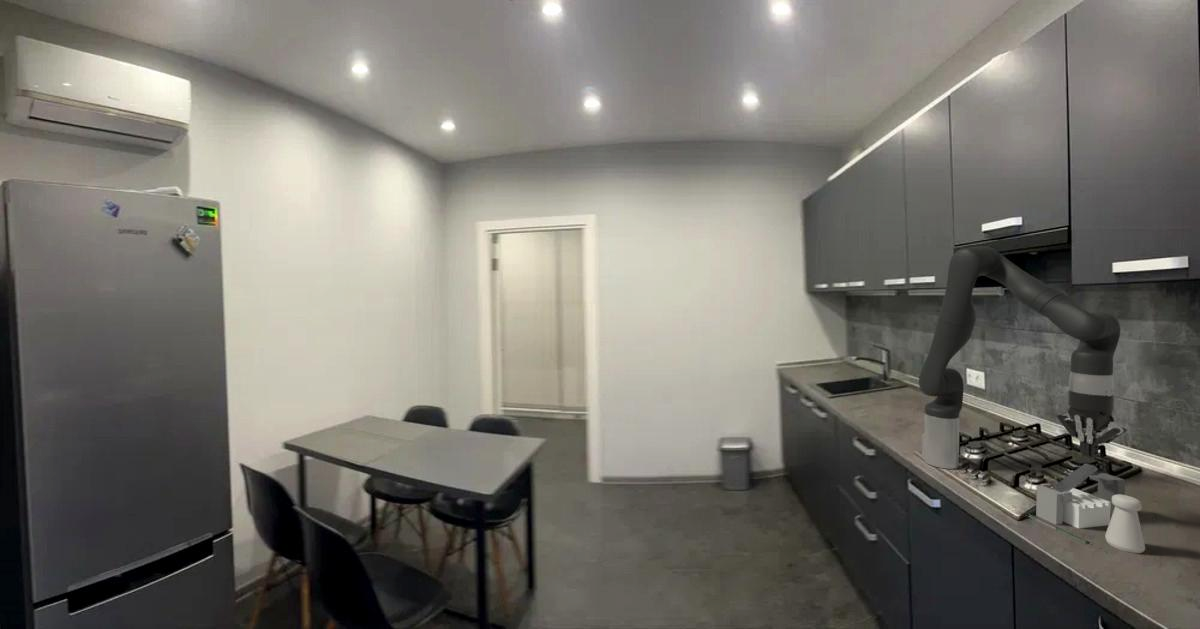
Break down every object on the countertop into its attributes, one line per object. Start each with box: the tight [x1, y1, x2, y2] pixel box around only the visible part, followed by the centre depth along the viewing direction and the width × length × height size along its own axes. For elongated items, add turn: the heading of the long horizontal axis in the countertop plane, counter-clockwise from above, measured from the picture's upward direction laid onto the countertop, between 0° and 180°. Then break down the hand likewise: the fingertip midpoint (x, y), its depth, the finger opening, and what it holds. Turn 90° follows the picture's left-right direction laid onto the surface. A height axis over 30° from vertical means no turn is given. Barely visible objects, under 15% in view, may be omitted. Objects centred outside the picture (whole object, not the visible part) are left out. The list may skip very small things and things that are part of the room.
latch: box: [1091, 472, 1126, 516], centre depth 110 cm, size 4×5×10 cm
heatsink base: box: [1012, 483, 1111, 545], centre depth 109 cm, size 16×21×10 cm
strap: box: [1048, 463, 1098, 493], centre depth 108 cm, size 3×13×1 cm
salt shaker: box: [1104, 494, 1146, 554], centre depth 96 cm, size 6×6×13 cm
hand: (1088, 456), depth 108 cm, fingers closed
